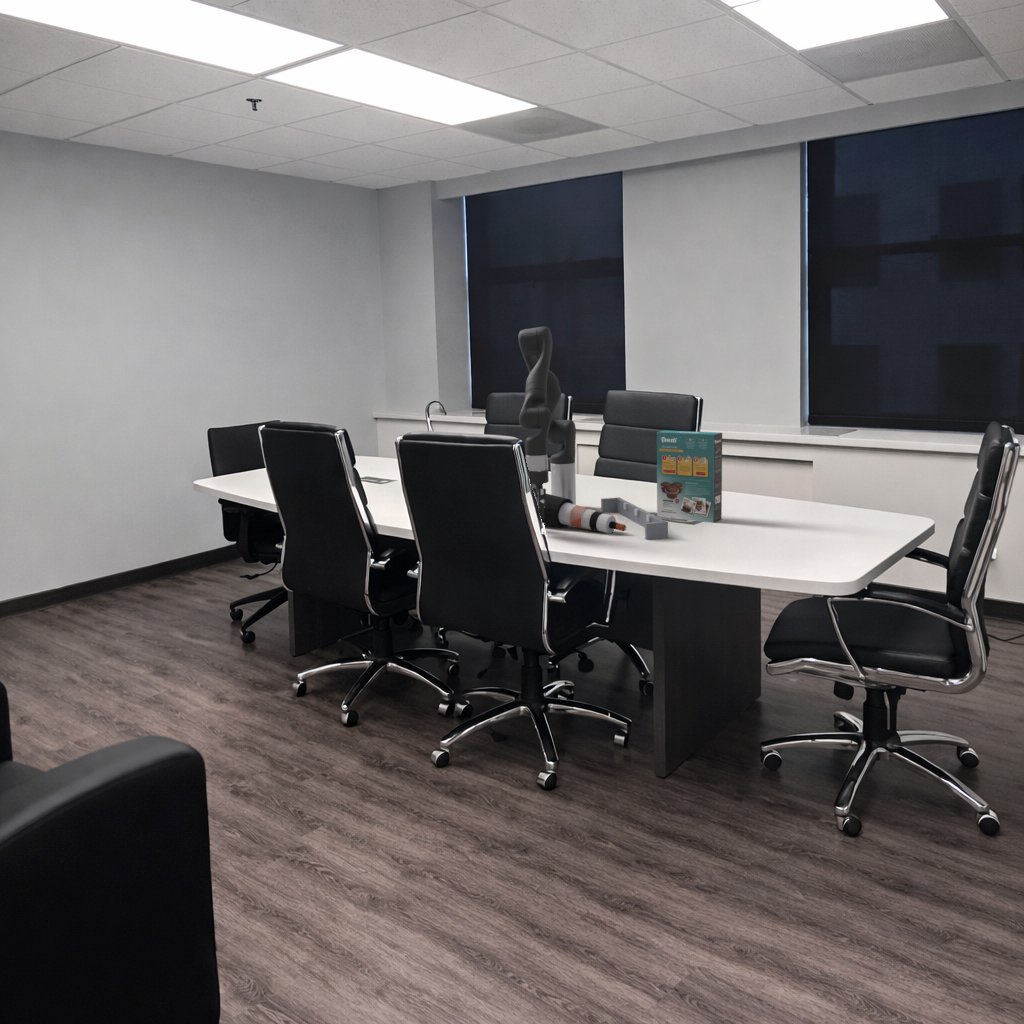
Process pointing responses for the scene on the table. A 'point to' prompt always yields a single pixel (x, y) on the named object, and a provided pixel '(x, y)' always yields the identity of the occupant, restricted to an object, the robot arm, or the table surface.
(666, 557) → the table surface
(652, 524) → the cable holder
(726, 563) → the table surface
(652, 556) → the table surface
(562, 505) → the cable
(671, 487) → the cake mix box
